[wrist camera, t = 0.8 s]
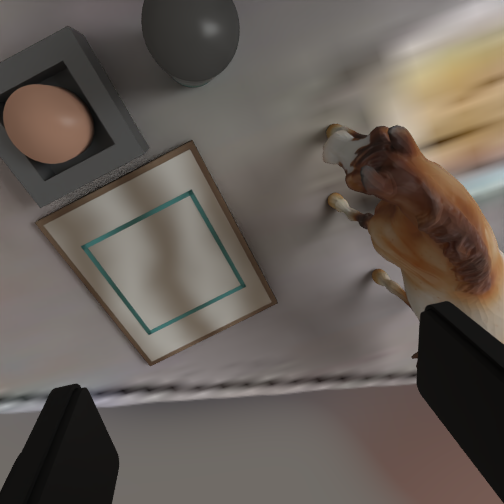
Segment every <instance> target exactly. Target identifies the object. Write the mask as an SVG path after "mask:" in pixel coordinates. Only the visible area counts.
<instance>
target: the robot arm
mask: <svg viewBox="0 0 504 504" xmlns="http://www.w3.org/2000/svg"><path fill="white" fill-rule="evenodd" d="M417 387H418V390H419V392H420V394H421V395H422V397H423V398H424V399H425V401H426V402H427V403H428V405H429V406H430V407H431V409H432V410H433V411H434V412H435V414H436V415H437V416H438V418H439V419H440V420H441V422H442V423H443V424H444V426H445V427H446V428H447V430H448V431H449V432H450V433H451V435H452V436H453V437H454V439H455V440H456V441H457V442H458V444H459V445H460V447H461V448H462V449H463V451H464V452H465V453H466V454H467V456H468V457H469V458H470V459H471V461H472V462H473V464H474V465H475V466H476V467H477V468H478V470H479V471H480V473H481V474H482V475H483V477H484V478H485V479H486V481H487V482H488V483H489V484H490V486H491V487H492V488H493V490H494V491H495V492H496V494H497V495H498V496H499V498H500V499H501V500H502V502H503V503H504V344H503V343H501V342H500V341H499V340H498V339H496V338H495V337H494V336H493V335H491V334H490V333H489V332H488V331H486V330H485V329H484V328H483V327H481V326H480V325H479V324H478V323H476V322H475V321H474V320H472V319H471V318H470V317H469V316H467V315H466V314H465V313H464V312H462V311H461V310H460V309H459V308H457V307H456V306H455V305H454V304H452V303H451V302H449V301H444V302H439V303H435V304H430V305H427V306H426V307H425V310H424V311H423V312H421V314H420V325H419V345H418V364H417ZM118 470H119V458H118V454H117V451H116V449H115V447H114V445H113V442H112V440H111V438H110V436H109V434H108V432H107V430H106V427H105V425H104V423H103V421H102V419H101V417H100V414H99V412H98V410H97V408H96V406H95V404H94V401H93V399H92V397H91V395H90V393H89V391H88V389H87V388H81V387H80V385H79V384H72V385H68V386H63V387H59V388H55V389H53V390H52V391H51V393H50V394H49V397H48V399H47V401H46V403H45V405H44V407H43V409H42V411H41V413H40V415H39V417H38V419H37V422H36V424H35V425H34V428H33V430H32V432H31V434H30V436H29V438H28V440H27V442H26V444H25V446H24V448H23V450H22V452H21V453H20V455H19V456H18V458H17V459H16V461H15V463H14V465H13V467H12V469H11V471H10V473H9V475H8V477H7V479H6V481H5V483H4V485H3V487H2V490H1V491H0V504H112V500H113V495H114V490H115V484H116V480H117V475H118Z"/></svg>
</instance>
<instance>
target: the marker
mask: <svg viewBox="0 0 504 504" xmlns="http://www.w3.org/2000/svg"><path fill="white" fill-rule="evenodd" d="M141 22H142V31H143V36H144V39H145V43H146V45H147V47H148V50H149V52H150V53H151V55H152V57H153V58H154V59H155V61H156V62H157V63H158V64H159V65H160V66H161V67H162V68H163V69H164V70H165V71H166V72H167V73H168V74H170V76H171V77H172V78H173V79H174V80H175V81H177V82H178V83H180V84H182V85H184V86H187V87H200V86H203V85H205V84H206V83H208V82H209V81H210V80H211V79H212V78H214V77H215V76H217V75H218V74H220V73H221V72H222V71H223V70H224V69H225V68H226V67H227V66H228V64H229V63H230V62H231V60H232V58H233V56H234V54H235V52H236V49H237V46H238V41H239V19H238V14H237V11H236V8H235V5H234V3H233V1H232V0H145V1H144V4H143V9H142V20H141Z"/></svg>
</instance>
